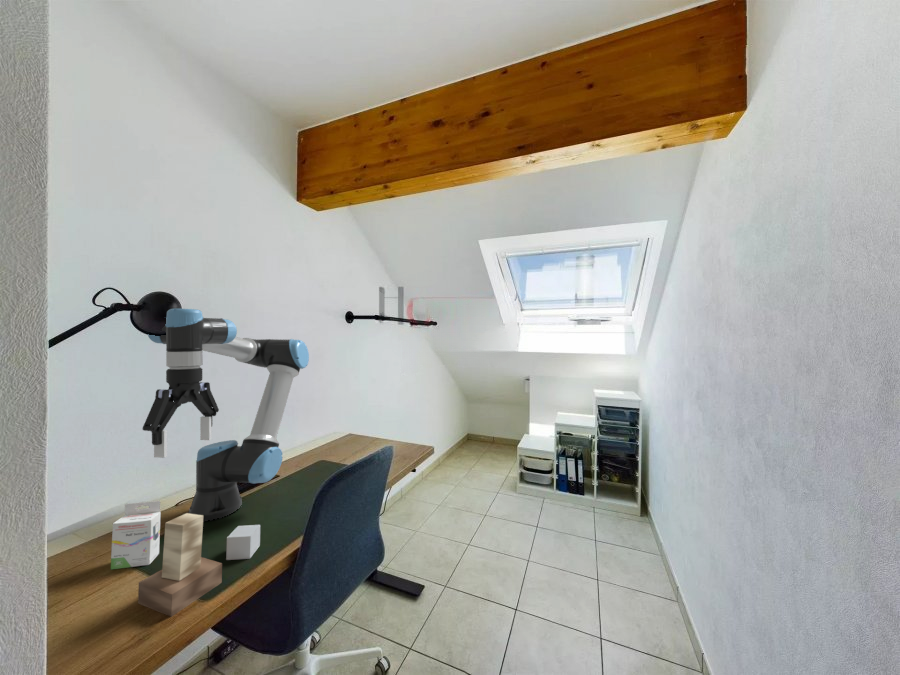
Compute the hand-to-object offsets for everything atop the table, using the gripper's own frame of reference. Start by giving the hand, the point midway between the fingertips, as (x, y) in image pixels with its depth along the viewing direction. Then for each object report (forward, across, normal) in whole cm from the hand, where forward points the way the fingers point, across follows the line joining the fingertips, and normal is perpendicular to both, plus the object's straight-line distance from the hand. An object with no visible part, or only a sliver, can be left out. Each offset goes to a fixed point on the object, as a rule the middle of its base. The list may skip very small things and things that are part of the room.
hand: (185, 447), depth 89 cm
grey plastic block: (+31, -6, +12) cm, 34 cm away
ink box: (+30, +1, -13) cm, 33 cm away
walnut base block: (+30, +10, +9) cm, 33 cm away
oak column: (+25, +10, +9) cm, 29 cm away
